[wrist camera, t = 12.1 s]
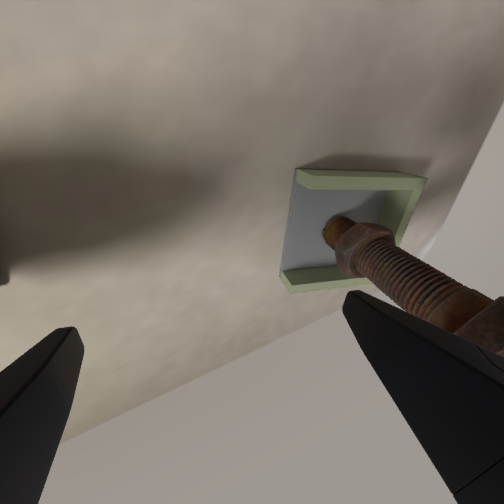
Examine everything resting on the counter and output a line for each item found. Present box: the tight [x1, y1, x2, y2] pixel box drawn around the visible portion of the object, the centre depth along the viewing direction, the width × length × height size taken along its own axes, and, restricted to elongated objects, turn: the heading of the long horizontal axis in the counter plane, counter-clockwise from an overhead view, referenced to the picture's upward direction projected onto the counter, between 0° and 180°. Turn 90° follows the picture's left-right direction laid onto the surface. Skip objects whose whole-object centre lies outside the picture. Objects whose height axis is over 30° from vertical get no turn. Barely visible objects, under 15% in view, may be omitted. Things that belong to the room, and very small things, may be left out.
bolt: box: [322, 216, 504, 357], centre depth 17 cm, size 6×5×15 cm
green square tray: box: [279, 169, 428, 294], centre depth 22 cm, size 11×11×3 cm
